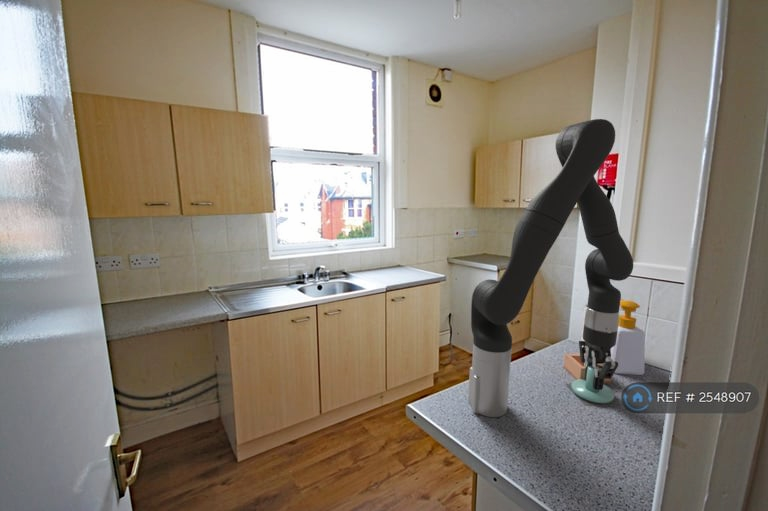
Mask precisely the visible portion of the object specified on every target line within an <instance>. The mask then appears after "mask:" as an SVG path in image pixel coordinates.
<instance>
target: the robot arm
mask: <svg viewBox="0 0 768 511" xmlns="http://www.w3.org/2000/svg"><path fill="white" fill-rule="evenodd" d="M615 141H616V129H615V126H614V125H613V123H612V122H611V121H609V120H607V119H604V118H596V119H590V120H589V119H588V120H585V121H581V122H578V123H574V124H570V125H568V126H566V127H564V128H562V130H561V131H560V132H559V133H558V135H557V137H556V140H555V151H556V155H557V158H558V161H559V163H560V165H561V167H562V168H561V169H560V171H559V173H558V174H557V175H556V176H555V177H554V178H553V179H552V180H551V181H550V182H549V183H548V184H547V185H546V186H545V187H544V188H543V189H541V190H540V192H538V194H536V195H535V196H534V197H533V199H532V200H531V201H530V202H529V203H528V205H527V206H526V208H525V210H524V211H523V213H522V215H521V216H520V219H519V220H518V222H517V225H516V226H515V228H514V232H513V236H512V242H511V243H512V244H511V249H510V250H511V251H510V257H509V260H508V264H507V266H506V268H505V270H504V271H503V272H502V275H501V277H500V279H499V280H496V279H485V280H483V281H481V282H479V283H478V284H477V285H476V286H475V288H474V290H473V293H472V296H471V305H470V307H471V308H470V310H471V312H470V313H471V315H470V316H471V317H470V318H471V319H470V322H471V323H470V327H471V332H472V336H473V340H472V341H473V342H472V344H473V345H472V360H471V364H472V365H471V366H470V367H469V375H468V376H469V378H468V379H469V380H468V398H467V399H468V402H469V404H470V407H471V410H472V412H473V413H474V414H479V415H482V416H484V417H487V418H488V417H489V418H499V417H503V416H504V415H506V414H507V412H508V406H509V391H510V390H509V388H510V376H511V362H512V348H513V338H512V334H511V332H510V330H509V328H508V327H509V326H508V324H510V323H512V322H513V321H514V320H515V319H516V318H517V317H518V315H519V314H520V312H521V310H522V308H523V306H524V303H525V302H526V299H527V297H528V294H529V292H530V289H531V286H532V285H533V282H534V280H535V278H536V277H537V274H538V272H539V270H540V269H541V267H542V266H543V263H544V262H545V260H546V258H547V256H548V254H549V252H550V250H551V248H552V247H553V245H554V244H555V242H556V241H557V239H558V237H559V235H560V234H561V232H562V230H563V228H564V227H565V225H566V222H567V220H568V218H569V217H570V215H571V213H572V212H573V209H575V206H576V205H577V206H578V210H579V214H580V217H581V221H582V225H583V226H582V227H583V230H584V235H585V239H586V241H587V243H588V244H589V245H591V246H592V247H595V248H596V249H594V250H592V251H591V252H590V253H589V254H588V255H587V258H586V260H585V264H584V265H585V266H584V269H585V271H584V272H585V276H586V281H587V282H586V283H587V288H588V298H587V303H588V305H587V310H586V314H585V321H584V329H583V340H584V341H581V340H579V341H578V349H579V354H580V358H581V362H582V363H584V367H585V377H584V380H585V381H586V377H587V369H588V366H593V367H594V368H595V376H594V381H593V388H594V389H595V390H602V389H603V384H604V385H605V383H604V379H611V380H612V378H613V376H614V374H615V373H614V372H615V371H616V369H617V367H618V362H617V361H613V360H612V359H611V348H612V347H613V346H615V345H616V339H617V331H618V324H619V314H620V309H621V305H620V302H621V299H622V294H621V291H620V289H618V288H617V287H615V286H614V285H613V284H612V283H611V280H612V281H619V282H620V281H624V280H627V279H628V278H630V276H631V275H632V272H633V270H634V259H633V256H632V254H631V252H630V250H629V248H628V246H627V244H626V243H625V240H624V238H623V237H622V236H621V234H620V230H619V225H618V220H617V215H616V211H615V209H614V206H613V204H612V201H611V199H609V197H608V196H607V194H606V193H605V192H604V191H603V189H602V188H601V187H600V185H599V184H598V181H597V180H596V178H595V175H596V174H597V172H598V171H599V170H600V168H601V166H602V165H603V164H604V162H605V161H606V160H607V158H608V157H609V155H610V153H611V152H612V150H613V147H614V145H615ZM584 354H585V356H584ZM597 364H602V365H597ZM599 369H602V370H601V372H599Z"/></svg>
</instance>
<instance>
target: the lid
mask: <svg viewBox="0 0 768 511" xmlns="http://www.w3.org/2000/svg"><path fill="white" fill-rule="evenodd" d="M601 370H602V369H599V372H601ZM594 376H595V368H594V367H593V366H588V369H587V377H586V381H585V380H584V379H577V380H576V379H574V380H572V382H571V384H572V385H571V388H572V391H573V392H574V393H575V394H577V395H578V396H580V397H581V398H583V399H586V400H588V401H592V402H596V403H610V402H612V401H613V400H614V397H615V392H614V391H613V390H612V388H610V387H608V385H605V383H604V384H603V389H602V390H595V389H594V388H593V381H594ZM572 391H571V392H572ZM573 392H572V393H573ZM574 393H573V394H574ZM575 394H574V395H575Z"/></svg>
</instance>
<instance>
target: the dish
mask: <svg viewBox="0 0 768 511" xmlns="http://www.w3.org/2000/svg"><path fill="white" fill-rule="evenodd" d="M584 356H585V354H584ZM597 365H602V364H597ZM563 369H564V370H566V372H567V373H569V374H570V376H571V377H572V378H574V380H577V379H584V377H585V367H584V363H582V362H581V358H580V353H564V359H563ZM611 383H612V378H611V379H604V384H611Z"/></svg>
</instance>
